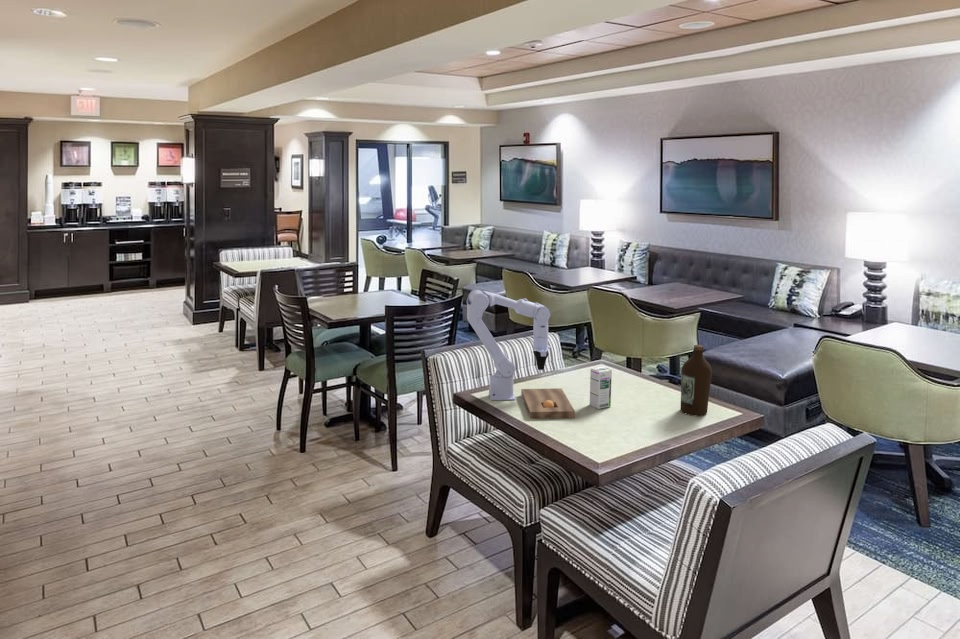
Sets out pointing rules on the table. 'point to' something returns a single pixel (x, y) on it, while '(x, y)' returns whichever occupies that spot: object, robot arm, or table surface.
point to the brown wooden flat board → (539, 396)
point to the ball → (548, 404)
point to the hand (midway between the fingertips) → (540, 369)
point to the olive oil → (695, 383)
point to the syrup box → (600, 387)
